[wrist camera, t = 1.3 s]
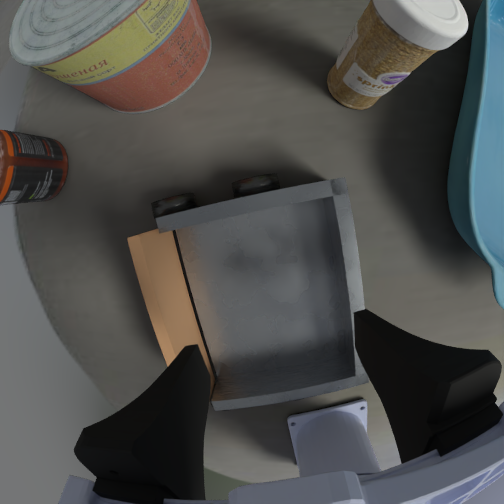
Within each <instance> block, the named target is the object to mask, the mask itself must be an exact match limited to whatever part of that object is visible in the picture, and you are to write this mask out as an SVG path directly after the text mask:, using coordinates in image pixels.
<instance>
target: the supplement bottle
mask: <svg viewBox="0 0 504 504" xmlns="http://www.w3.org/2000/svg"><path fill="white" fill-rule="evenodd" d="M67 171H68V158H67V154H66V151H65V149H64V147H63V146H62V144H61V143H59V142H58V141H56V140H53V139H50V138H45V137H39V136H35V135H29V134H24V133H18V132H11V131H6V130H0V205H7V204H18V203H28V202H40V201H46V200H50V199H52V198H53V197H55V196H56V195H57V194H58V193H59V191H60V190H61V188H62V187H63V185H64V183H65V180H66V177H67Z"/></svg>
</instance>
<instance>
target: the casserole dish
mask: <svg viewBox="0 0 504 504" xmlns="http://www.w3.org/2000/svg"><path fill="white" fill-rule="evenodd" d="M447 194H448V203H449V209H450V213H451V217H452V220H453V222H454V224H455V227H456V229H457V230H458V232H459V234H460V235H461V237H462V238H463V239H464V241H465V242H466V243H467V244H468V245H469V246H470V247H471V248H472V249H473V250H474V251H475V252H476V253H477V254H478V255H479V256H480V257H481V258H482V259H483V260H484V261H485V262H486V263H488V265H489V266H490V268H491V273H492V285H493V292H494V296H495V299H496V301H497V303H498V304H499V305H500V306H501V307H502V308H503V309H504V0H483V1H482V3H481V6H480V8H479V10H478V13H477V15H476V19H475V23H474V28H473V35H472V43H471V51H470V59H469V67H468V73H467V79H466V84H465V89H464V94H463V99H462V104H461V108H460V113H459V117H458V122H457V127H456V131H455V136H454V141H453V146H452V152H451V158H450V165H449V173H448V182H447Z"/></svg>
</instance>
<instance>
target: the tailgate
mask: <svg viewBox="0 0 504 504" xmlns="http://www.w3.org/2000/svg"><path fill="white" fill-rule="evenodd" d="M127 240H128V244H129V248H130V251H131V255H132V259H133V263H134V266H135V270H136V274H137V277H138V280H139V284H140V287H141V291H142V294H143V297H144V300H145V304H146V307H147V310H148V313H149V316H150V319H151V322H152V325H153V328H154V331H155V333H156V336H157V339H158V342H159V345H160V347H161V350H162V353H163V355H164V358H165V361H166V363H167V366H169V365H170V364H171V363H172V361H173V360H174V359H175V358H176V356H177V355H178V354H179V353H180V351H181V350H182V349H183V348H184V347H185V346H187V345H194V344H198V346H199V348H200V351H201V354H202V356H203V359H204V361H205V364H206V366H207V368H208V371H209V373H210V376H211V389H210V398H211V394H212V390H213V387H214V383H215V377H214V374H213V371H212V368H211V365H210V362H209V359H208V356H207V353H206V350H205V347H204V344H203V340H202V337H201V334H200V331H199V328H198V324H197V321H196V318H195V314H194V311H193V307H192V304H191V300H190V297H189V293H188V290H187V286H186V283H185V279H184V275H183V271H182V268H181V264H180V260H179V256H178V252H177V248H176V244H175V240H174V236H173V232H172V231H168V232H164V233H160V234H159V230H158V229H154V230H151V231H148V232H145V233H141V234H138V235H135V236H132V237H129V238H127ZM209 402H210V400H209Z"/></svg>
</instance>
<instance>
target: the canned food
mask: <svg viewBox="0 0 504 504" xmlns="http://www.w3.org/2000/svg"><path fill="white" fill-rule="evenodd" d="M211 47H212V44H211V36H210V33H209V30H208V28H207V26H206V25H205V22H204V20H203V17H202V14H201V11H200V9H199V6H198V3H197V0H23V2H22V4H21V5H20V7H19V9H18V11H17V13H16V15H15V18H14V20H13V23H12V26H11V30H10V35H9V49H10V53H11V55H12V57H13V58H14V60H16V61H17V62H18V63H20V64H22V65H25V66H31V67H33V68H35V69H37V70H39V71H41V72H43V73H45V74H47V75H49V76H51V77H53V78H55V79H57V80H59V81H61V82H63V83H65V84H67V85H69V86H71V87H73V88H75V89H77V90H79V91H81V92H83V93H85V94H87V95H89V96H91V97H93V98H94V99H96V100H98V101H100V102H102V103H103V104H105V105H106V106H107V107H109V108H111V109H113V110H115V111H118V112H121V113H127V114H139V113H146V112H150V111H153V110H157V109H159V108H162V107H164V106H166V105H168V104H170V103H171V102H173V101H175V100H176V99H178V98H179V97H181V96H182V95H183V94H184V93H186V92H187V91H188V90H189V89H190V88H191V87H192V86H193V85H194V84H195V83H196V82H197V80H198V79H199V78H200V76H201V75H202V73H203V72H204V70H205V68H206V66H207V64H208V61H209V58H210V54H211Z"/></svg>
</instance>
